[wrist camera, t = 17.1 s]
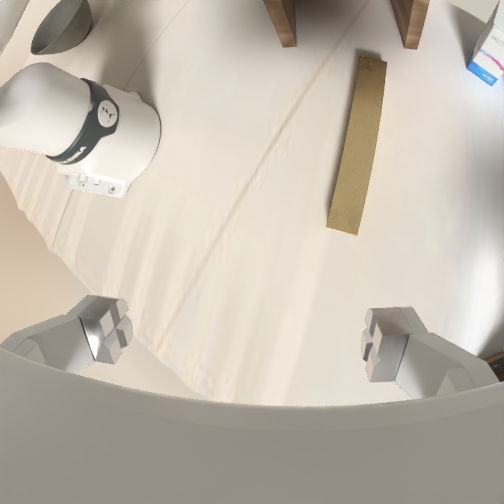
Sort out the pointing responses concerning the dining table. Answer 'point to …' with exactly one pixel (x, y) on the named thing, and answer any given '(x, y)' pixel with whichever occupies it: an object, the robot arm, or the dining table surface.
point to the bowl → (62, 27)
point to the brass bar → (358, 148)
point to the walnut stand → (404, 5)
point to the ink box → (490, 49)
